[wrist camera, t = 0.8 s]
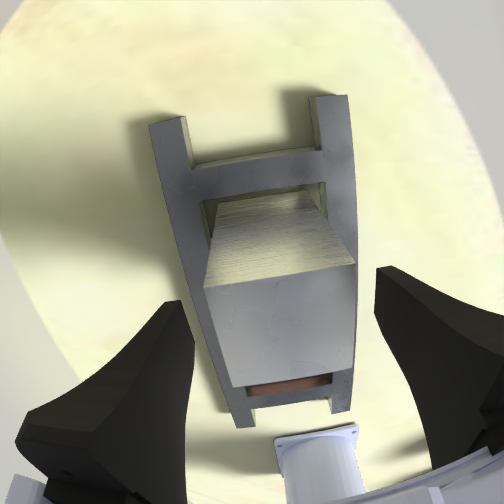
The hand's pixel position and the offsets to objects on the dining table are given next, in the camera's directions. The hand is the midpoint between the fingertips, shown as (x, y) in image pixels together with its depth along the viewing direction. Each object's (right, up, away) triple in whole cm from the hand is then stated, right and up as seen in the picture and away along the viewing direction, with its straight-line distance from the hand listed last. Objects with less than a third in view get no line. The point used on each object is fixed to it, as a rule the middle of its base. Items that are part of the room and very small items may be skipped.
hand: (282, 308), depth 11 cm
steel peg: (0, +3, +6) cm, 7 cm away
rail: (0, -1, +8) cm, 8 cm away
